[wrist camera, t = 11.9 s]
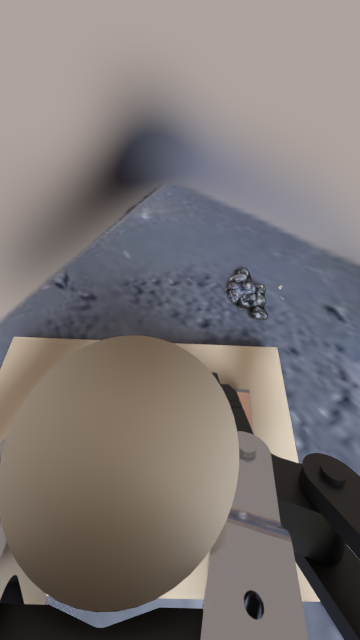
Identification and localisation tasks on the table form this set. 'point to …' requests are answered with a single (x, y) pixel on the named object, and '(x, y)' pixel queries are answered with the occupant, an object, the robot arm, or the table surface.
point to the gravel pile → (248, 294)
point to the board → (227, 361)
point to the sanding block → (119, 473)
